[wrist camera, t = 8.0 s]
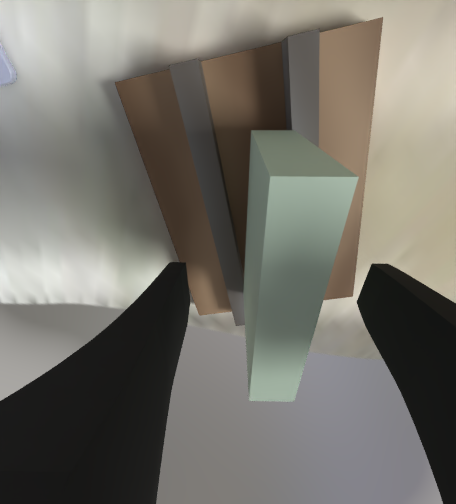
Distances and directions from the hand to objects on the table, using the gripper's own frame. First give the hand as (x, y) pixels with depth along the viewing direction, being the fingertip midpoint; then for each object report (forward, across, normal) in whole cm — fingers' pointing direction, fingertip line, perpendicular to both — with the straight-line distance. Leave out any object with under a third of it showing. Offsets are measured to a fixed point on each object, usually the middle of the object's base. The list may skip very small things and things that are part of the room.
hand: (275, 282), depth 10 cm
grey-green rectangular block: (+5, 0, 0) cm, 5 cm away
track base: (+8, 0, 0) cm, 8 cm away
